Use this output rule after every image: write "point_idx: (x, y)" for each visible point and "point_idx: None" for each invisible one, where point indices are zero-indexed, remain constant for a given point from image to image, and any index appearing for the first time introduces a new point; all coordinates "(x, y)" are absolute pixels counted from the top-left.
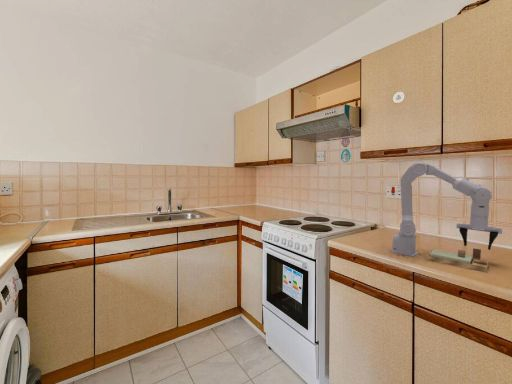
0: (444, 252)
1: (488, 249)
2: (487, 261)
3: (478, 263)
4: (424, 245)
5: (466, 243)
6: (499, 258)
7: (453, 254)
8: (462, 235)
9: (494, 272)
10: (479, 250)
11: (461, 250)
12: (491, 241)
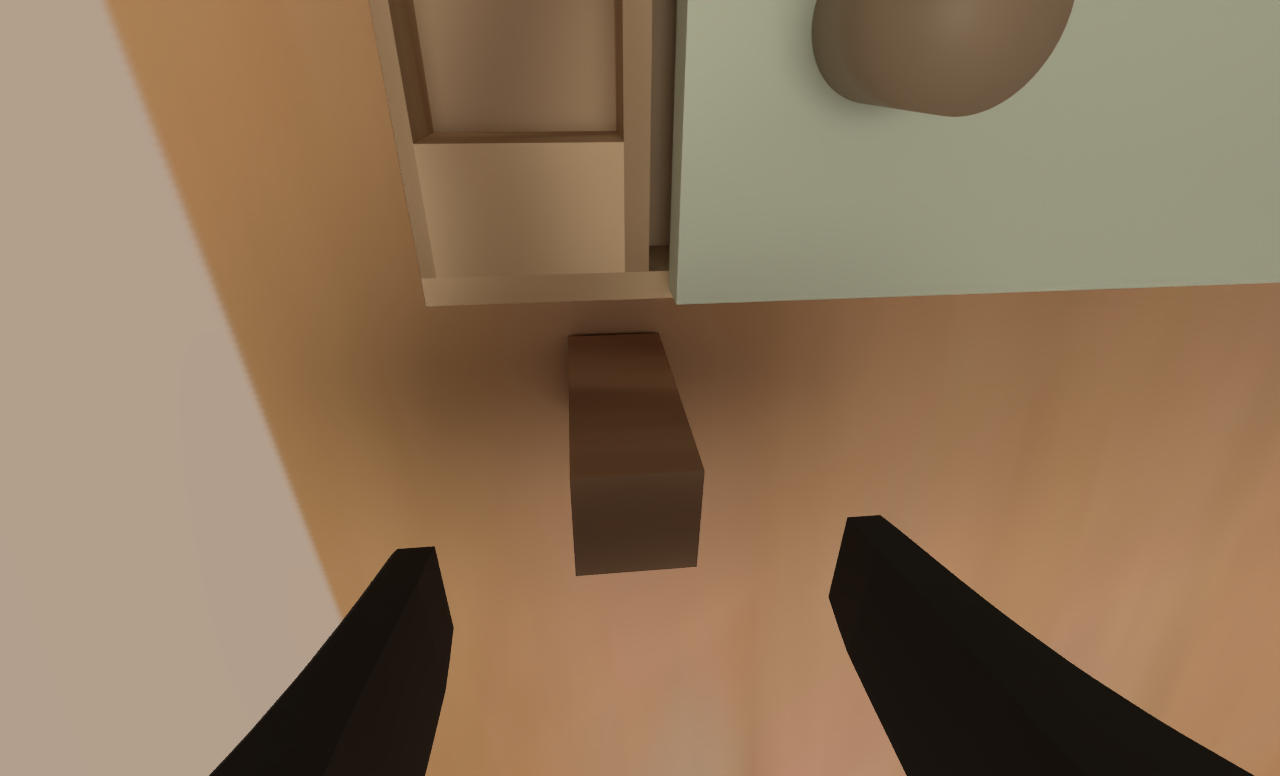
0: (1172, 147)
1: (423, 550)
2: (440, 285)
3: (558, 136)
4: (1103, 675)
5: (865, 588)
6: (456, 743)
7: (1023, 105)
8: (1185, 746)
9: (309, 36)
10: (588, 476)
11: (983, 51)
12: (253, 770)
